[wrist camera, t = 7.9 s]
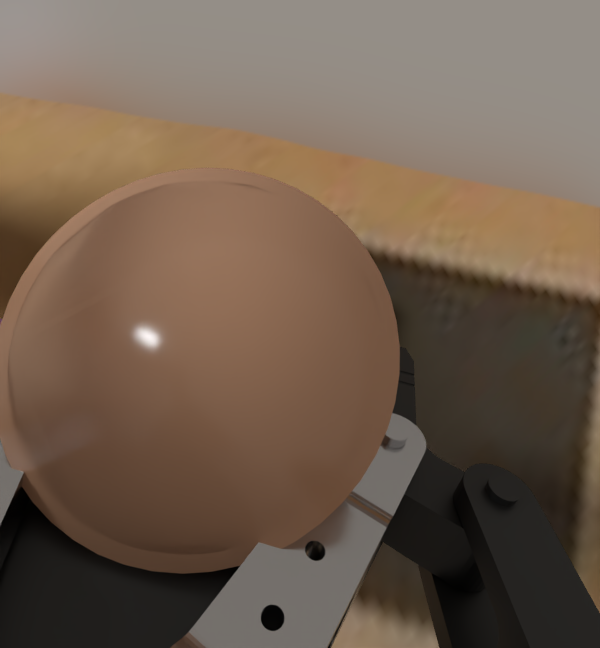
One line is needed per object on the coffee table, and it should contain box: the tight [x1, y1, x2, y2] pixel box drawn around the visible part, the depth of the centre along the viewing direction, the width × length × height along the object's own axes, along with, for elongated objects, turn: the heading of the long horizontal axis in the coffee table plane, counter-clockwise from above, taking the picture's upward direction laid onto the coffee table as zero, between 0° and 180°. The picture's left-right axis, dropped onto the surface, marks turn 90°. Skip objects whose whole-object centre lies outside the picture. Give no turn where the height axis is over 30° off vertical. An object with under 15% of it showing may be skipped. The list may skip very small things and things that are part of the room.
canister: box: [0, 168, 400, 574], centre depth 11 cm, size 5×5×11 cm
